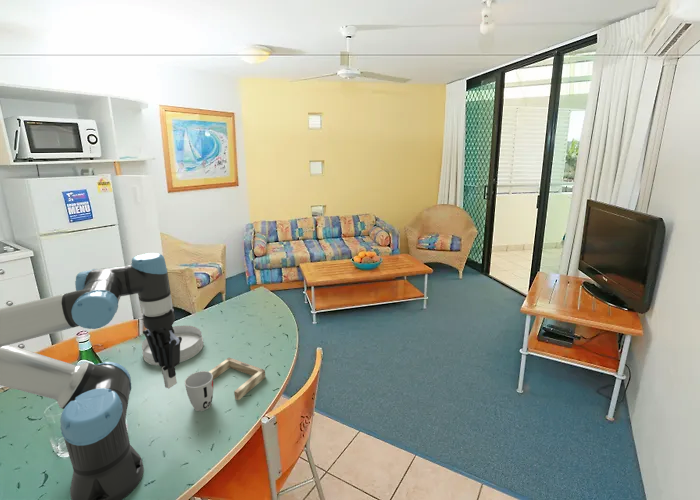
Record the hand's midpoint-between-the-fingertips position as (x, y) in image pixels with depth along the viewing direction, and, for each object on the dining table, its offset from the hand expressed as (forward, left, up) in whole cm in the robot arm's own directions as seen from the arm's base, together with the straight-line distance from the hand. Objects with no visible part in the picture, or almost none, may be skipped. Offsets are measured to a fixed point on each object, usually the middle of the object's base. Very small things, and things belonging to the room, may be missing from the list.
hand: (171, 385), depth 105 cm
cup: (+9, 0, -14) cm, 17 cm away
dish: (+27, +36, -15) cm, 48 cm away
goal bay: (+22, 0, -14) cm, 26 cm away
